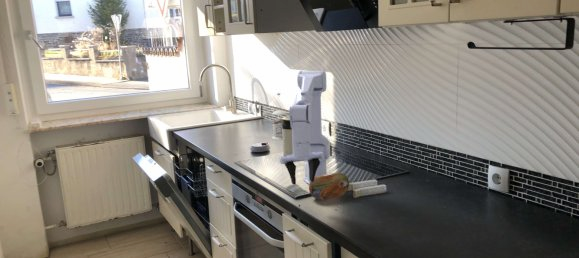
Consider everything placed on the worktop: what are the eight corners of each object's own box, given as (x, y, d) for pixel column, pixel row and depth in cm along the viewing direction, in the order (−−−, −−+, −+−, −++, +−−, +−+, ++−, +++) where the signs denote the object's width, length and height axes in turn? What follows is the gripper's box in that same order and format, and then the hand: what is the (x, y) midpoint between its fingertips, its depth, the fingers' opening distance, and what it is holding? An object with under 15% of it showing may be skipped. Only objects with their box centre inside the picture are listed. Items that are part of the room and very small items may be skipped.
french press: (269, 136, 272) (266, 92, 267) (287, 134, 277) (285, 91, 272) (275, 140, 264) (273, 94, 259) (295, 137, 268) (293, 92, 263)
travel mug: (285, 157, 226) (284, 119, 222) (281, 153, 233) (280, 117, 230) (302, 155, 228) (300, 118, 224) (297, 152, 235) (296, 115, 232)
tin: (312, 202, 166) (311, 178, 164) (307, 199, 169) (307, 176, 167) (349, 194, 172) (349, 171, 171) (345, 192, 175) (344, 169, 173)
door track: (342, 189, 177) (342, 183, 177) (374, 185, 181) (374, 178, 181) (354, 197, 168) (354, 191, 168) (387, 192, 172) (387, 186, 172)
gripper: (283, 146, 149) (285, 188, 151) (327, 141, 153) (328, 182, 156) (276, 142, 155) (278, 182, 158) (318, 137, 160) (319, 176, 162)
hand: (302, 182), depth 157 cm, fingers open, 6 cm apart
